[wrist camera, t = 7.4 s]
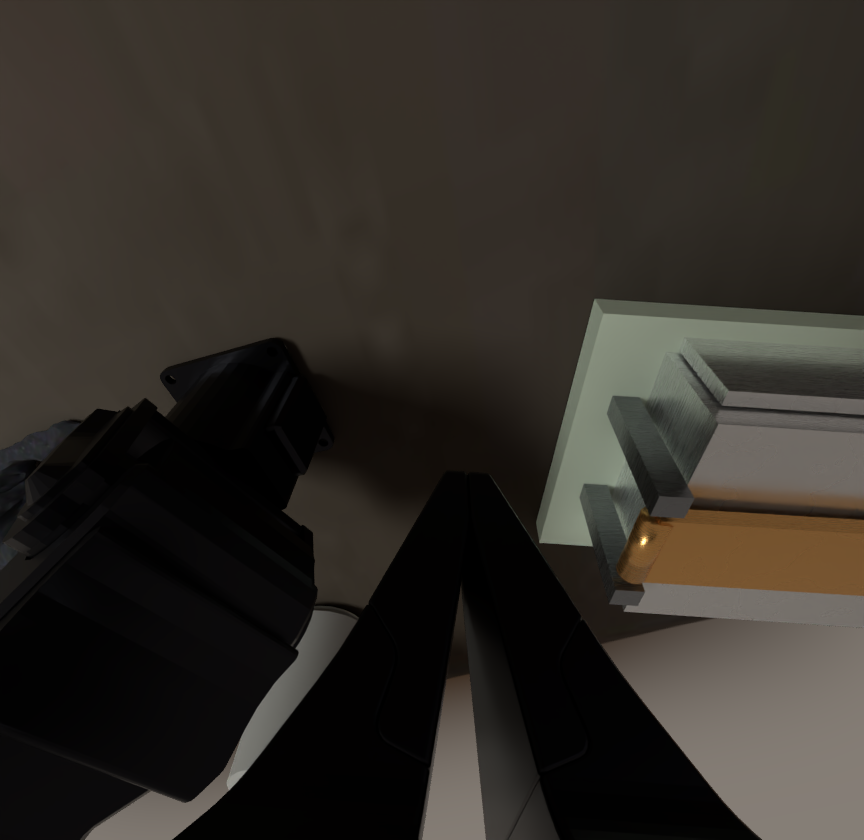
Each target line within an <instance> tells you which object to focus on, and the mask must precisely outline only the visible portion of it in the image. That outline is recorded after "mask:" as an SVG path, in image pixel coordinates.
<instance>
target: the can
mask: <svg viewBox="0 0 864 840" xmlns="http://www.w3.org/2000/svg"><path fill="white" fill-rule="evenodd" d="M358 618H359V617H357V616H356V615H355V614H353V613H350V612H348V611H346V610H344V609H340V608H336V607H332V606H314V610H313V614H312V618H311V621H310V623H309V625H308V628H307V630H306V632H305V634H304V636H303V637H302V639H301V641H300V643H299V644H298V646H297V647H296V648H295V649H297V650H298V652H299V654H298V657H297V659H296V660H295V661H294V663H293V664H292V665H291V666H290V667H289V668H288V669H287V670H286V671H285V672H284V673H283V674H282V676H281V677H280V678H279V679H278V680H277V681H276V682H275V683H274V685H273V686H272V688H271V689H270V691H269V692H268V693H267V695H266V696H265V698H264V699H263V700H262V702H261V703H260V705H259V706H258V708H257V709H256V711H255V713H254V715H253V716H252V718H251V720H250V722H249V723H248V725H247V727H246V729H245V731H244V733H243V734H242V737H241V740H240V743H239V746H238V750H237V753H236V755H235V759H234V762H233V765H232V768H231V771H230V774H229V777H228V781H227V783H226V784H227V786H228V789H229V790H230V789H231V788H232V787H233V786H234V785H235V784H236V783H237V781H238V780H239V779H240V778H241V777H242V776H243V775H244V773H245V772H246V771H247V770H248V769H249V768H250V766H251V765H252V764H253V763H254V761H255V760H256V759H257V758H258V756H259V755H260V754H261V753H262V751H263V750H264V749H265V747H266V746H267V745H268V743H269V742H270V741H271V740H272V738H273V737H274V736H275V734H276V733H277V732H278V730H279V729H280V728H281V726H282V725H283V724H284V723H285V721H286V720H287V719H288V717H289V716H290V715H291V713H292V712H293V711H294V710H295V708H296V707H297V706H298V704H299V703H300V702H301V700H302V699H303V698H304V697H305V695H306V694H307V693H308V691H309V690H310V689H311V687H312V686H313V685H314V684H315V682H316V681H317V680H318V678H319V677H320V675H321V674H322V673H323V671H324V670H325V668H326V667H327V666H328V664H329V663H330V662H331V660H332V659H333V657H334V656H335V655H336V653H337V652H338V650H339V649H340V647H341V646H342V644H343V643H344V641H345V639H346V638H347V636H348V635H349V633H350V631H351V630H352V628H353V627H354V625H355V624H356V622H357V620H358Z"/></svg>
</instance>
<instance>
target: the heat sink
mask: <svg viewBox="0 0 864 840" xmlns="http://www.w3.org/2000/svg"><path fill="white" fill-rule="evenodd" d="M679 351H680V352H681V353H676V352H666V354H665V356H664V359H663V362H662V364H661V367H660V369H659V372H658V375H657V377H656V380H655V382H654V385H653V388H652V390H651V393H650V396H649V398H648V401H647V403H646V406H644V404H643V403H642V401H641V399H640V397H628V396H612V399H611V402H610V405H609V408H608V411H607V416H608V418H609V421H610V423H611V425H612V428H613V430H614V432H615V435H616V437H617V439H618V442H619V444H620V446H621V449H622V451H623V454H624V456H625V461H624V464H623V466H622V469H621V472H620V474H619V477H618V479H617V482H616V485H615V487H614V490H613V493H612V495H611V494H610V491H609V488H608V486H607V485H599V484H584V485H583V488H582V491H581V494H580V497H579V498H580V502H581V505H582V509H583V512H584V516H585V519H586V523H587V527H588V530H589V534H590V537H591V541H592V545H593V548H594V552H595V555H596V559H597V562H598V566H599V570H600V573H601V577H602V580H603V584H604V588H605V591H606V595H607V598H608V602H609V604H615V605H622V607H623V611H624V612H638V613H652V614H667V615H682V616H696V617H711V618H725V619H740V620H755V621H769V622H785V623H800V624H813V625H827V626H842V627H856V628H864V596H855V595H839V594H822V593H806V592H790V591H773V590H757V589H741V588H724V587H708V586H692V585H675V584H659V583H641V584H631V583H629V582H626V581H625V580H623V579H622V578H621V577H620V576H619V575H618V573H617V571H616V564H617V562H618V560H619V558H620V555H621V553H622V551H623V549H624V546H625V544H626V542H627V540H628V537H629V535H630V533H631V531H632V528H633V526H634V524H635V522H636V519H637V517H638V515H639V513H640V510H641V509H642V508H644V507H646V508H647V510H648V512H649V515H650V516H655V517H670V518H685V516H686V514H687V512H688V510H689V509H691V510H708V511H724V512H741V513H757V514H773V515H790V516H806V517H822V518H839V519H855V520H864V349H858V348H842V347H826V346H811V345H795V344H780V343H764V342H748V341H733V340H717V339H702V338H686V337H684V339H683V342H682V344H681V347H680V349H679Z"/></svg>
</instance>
